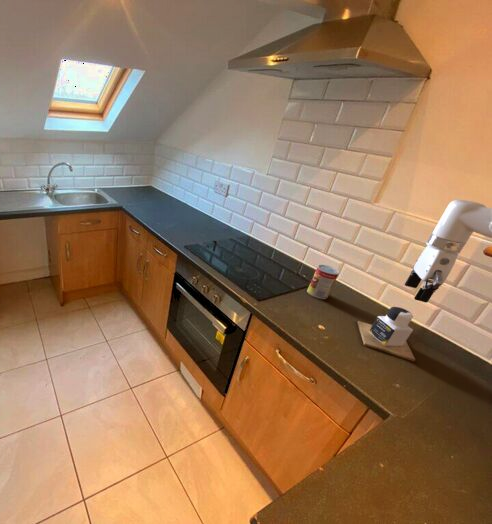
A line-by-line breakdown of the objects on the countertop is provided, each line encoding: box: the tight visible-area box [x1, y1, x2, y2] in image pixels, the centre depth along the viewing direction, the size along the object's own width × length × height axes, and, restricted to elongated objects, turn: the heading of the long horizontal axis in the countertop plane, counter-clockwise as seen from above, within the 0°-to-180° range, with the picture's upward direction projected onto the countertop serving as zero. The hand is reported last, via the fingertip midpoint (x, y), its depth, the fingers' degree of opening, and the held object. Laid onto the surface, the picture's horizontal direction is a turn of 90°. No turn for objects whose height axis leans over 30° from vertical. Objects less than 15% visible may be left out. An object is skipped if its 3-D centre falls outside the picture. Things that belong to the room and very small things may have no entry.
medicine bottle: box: [369, 306, 414, 346], centre depth 100 cm, size 7×7×12 cm
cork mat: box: [357, 320, 416, 362], centre depth 103 cm, size 14×14×1 cm
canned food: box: [306, 264, 340, 300], centre depth 125 cm, size 8×8×12 cm
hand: (415, 293), depth 94 cm, fingers open, 9 cm apart
